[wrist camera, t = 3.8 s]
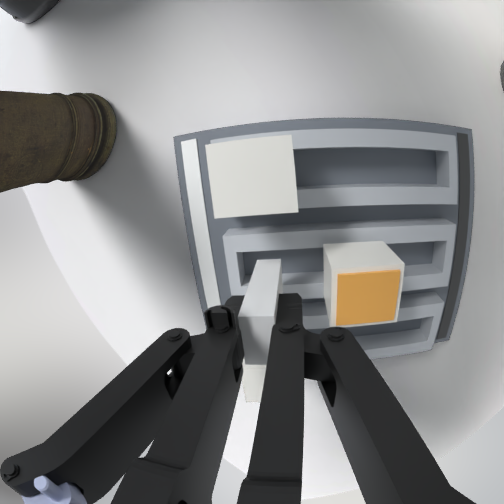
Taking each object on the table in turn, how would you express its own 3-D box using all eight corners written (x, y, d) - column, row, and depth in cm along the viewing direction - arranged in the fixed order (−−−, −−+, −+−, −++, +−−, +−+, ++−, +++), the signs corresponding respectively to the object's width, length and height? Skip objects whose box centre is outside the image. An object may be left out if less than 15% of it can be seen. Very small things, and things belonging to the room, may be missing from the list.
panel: (183, 138, 20) (122, 131, 12) (459, 130, 16) (524, 127, 8) (218, 345, 27) (193, 410, 18) (441, 329, 23) (476, 383, 15)
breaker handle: (319, 232, 19) (332, 270, 13) (371, 230, 19) (406, 264, 12) (320, 278, 20) (330, 330, 14) (369, 275, 20) (397, 323, 13)
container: (133, 118, 20) (-59, 113, 3) (90, 197, 23) (-67, 260, 6) (82, 80, 19) (-66, 67, 2) (47, 152, 22) (-88, 182, 5)
